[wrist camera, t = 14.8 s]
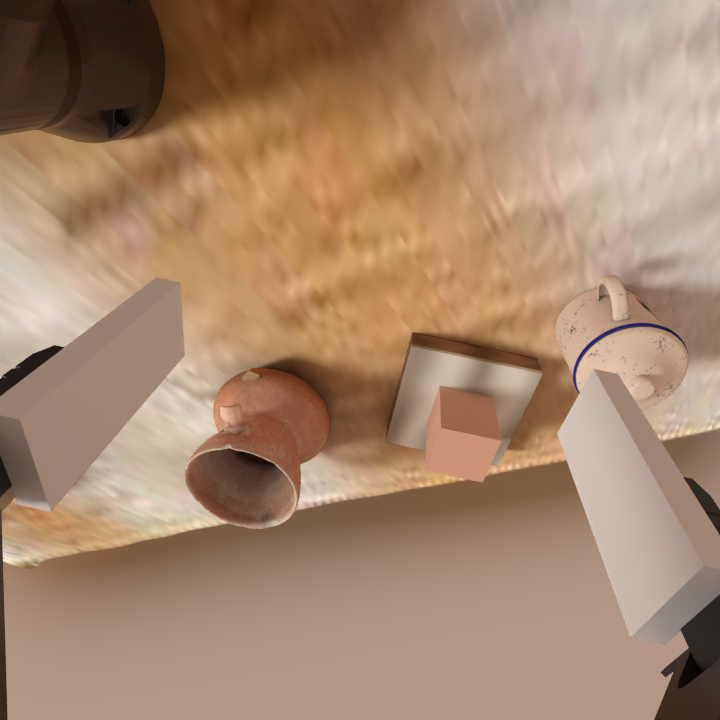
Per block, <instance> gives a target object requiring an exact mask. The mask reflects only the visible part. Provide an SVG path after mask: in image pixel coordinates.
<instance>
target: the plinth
mask: <svg viewBox="0 0 720 720" xmlns="http://www.w3.org/2000/svg"><path fill="white" fill-rule="evenodd" d="M542 375H543V373H542V370H541V367H540V365H539V362H538V360H537V358H532V357H527V356H522V355H518V354H513V353H508V352H503V351H498V350H494V349H489V348H484V347H479V346H474V345H470V344H465V343H460V342H455V341H450V340H446V339H441V338H436V337H431V336H426V335H422V334H417V333H412V336H411V340H410V343H409V347H408V351H407V355H406V358H405V362H404V366H403V370H402V373H401V377H400V381H399V385H398V388H397V392H396V396H395V400H394V403H393V407H392V411H391V414H390V418H389V422H388V426H387V434H386V443H391V444H396V445H401V446H405V447H410V448H415V449H419V450H424V451H426V425H427V422H428V419H429V416H430V413H431V410H432V407H433V404H434V401H435V398H436V395H437V392H438V389H439V386H443V387H447V388H452V389H457V390H462V391H466V392H471V393H476V394H480V395H485V396H490V397H493V399H494V404H495V409H496V414H497V419H498V424H499V429H500V434H501V439H502V442H501V444H500V446H499V448H498V450H497V452H496V455H495V457H494V459H493V461H492V463H491V465H495V466H499V464H500V462H501V460H502V458H503V456H504V454H505V451H506V449H507V447H508V445H509V443H510V441H511V439H512V437H513V435H514V433H515V431H516V429H517V427H518V425H519V422H520V420H521V418H522V416H523V414H524V412H525V410H526V408H527V406H528V404H529V402H530V400H531V398H532V396H533V393H534V391H535V389H536V387H537V385H538V383H539V381H540V379H541V377H542Z"/></svg>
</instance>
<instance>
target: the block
mask: <svg viewBox="0 0 720 720" xmlns="http://www.w3.org/2000/svg"><path fill="white" fill-rule="evenodd" d="M501 442H502V439H501V434H500V429H499V424H498V419H497V414H496V409H495V404H494V399H493V397H490V396H485V395H480V394H476V393H471V392H466V391H462V390H457V389H452V388H447V387H443V386H439V389H438V392H437V395H436V398H435V401H434V404H433V407H432V410H431V413H430V416H429V419H428V422H427V425H426V470H427V471H431V472H436V473H441V474H445V475H450V476H455V477H459V478H464V479H469V480H473V481H478V482H483V480H484V478H485V476H486V474H487V472H488V469H489V467H490V465H491V463H492V461H493V459H494V457H495V455H496V452H497V450H498V448H499V446H500V444H501Z"/></svg>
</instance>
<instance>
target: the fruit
mask: <svg viewBox="0 0 720 720" xmlns="http://www.w3.org/2000/svg"><path fill="white" fill-rule="evenodd" d="M14 497H15V496H14V494H13V491H12V489H11V487H10V488H9V489H8V490H7V491H6V492H5V493H4V494H3V495H2V496H1V497H0V508H1V512H2V511H3V510H4V509H5V508H6V507H7V506H8V505H9V504H10V503H11V501H12V500H13V499H14Z"/></svg>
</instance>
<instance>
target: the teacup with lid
mask: <svg viewBox="0 0 720 720" xmlns="http://www.w3.org/2000/svg"><path fill="white" fill-rule="evenodd" d="M555 337H556V341H557V343H558V346H559V348H560V350H561V352H562V354H563V356H564V358H565V360H566V362H567V364H568V366H569V368H570V371H571V373H572V375H573V381H574V385H575V387H576V390H577V391H578V393H579V394H580V392H581V390H582V388H583V387H584V385H585V383H586V381H587V379H588V378H589V376H590V374H591V372H592V370H593V369H597V370H602V371H607V372H612V373H616V374H618V375H619V376H620V378H621V380H622V381H623V383H624V384H625V386H626V387H627V389H628V391H629V392H630V394H631V395H632V397H633V399H634V400H635V402H636V403H637V405H638V406H639V408H640V410H642V409H645V408H648V407H651V406H653V405H655V404H657V403H659V402H661V401H663V400H664V399H666V398H667V397H668V396H670V395H671V394H672V393H673V392H674V391H675V390H676V389H677V388H678V387H679V385H680V384H681V382H682V381H683V379H684V377H685V375H686V372H687V368H688V353H687V349H686V346H685V344H684V342H683V341H682V339H681V338H680V337H679V336H678V335H677V334H676V333H675V332H673V331H672V330H670V329H668V328H666V327H665V326H664V325H663V324H662V323H661V321H660V320H659V319H658V318H657V317H656V316H655V315H654V314H653V313H652V312H651V311H650V310H649V309H648V308H647V307H646V305H645V304H644V303H643V302H642V301H641V300H640V299H639V298H638V297H637V296H636V295H634V294H633V293H631V292H629V291H627V290H626V289H625V287H624V284H623V283H622V281H621V280H620V279H619V278H618V277H617V276H615V275H609V276H605V277H602V278H601V279H600V280H599V282H598V286H597V289H593V290H590V291H587V292H585V293H583V294H581V295H579V296H577V297H576V298H574V299H573V300H572V301H571V302H569V303H568V304H567V305H566V306H565V308H564V309H563V310H562V312H561V313H560V315H559V317H558V319H557V322H556V326H555Z"/></svg>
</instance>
